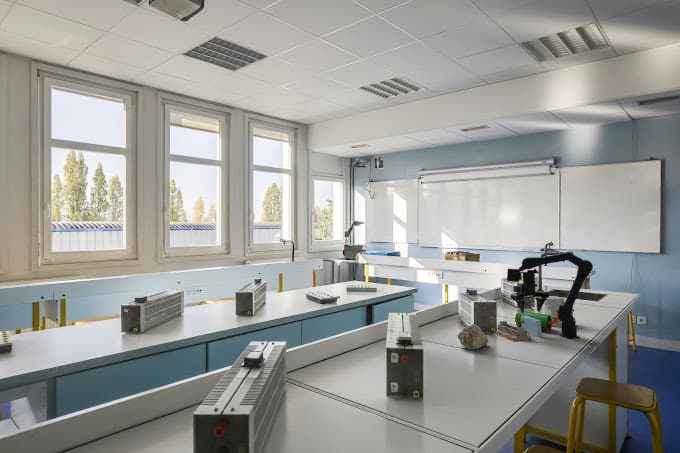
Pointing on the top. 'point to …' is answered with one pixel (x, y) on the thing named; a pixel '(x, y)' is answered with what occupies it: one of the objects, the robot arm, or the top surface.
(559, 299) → the circuit breaker
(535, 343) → the top surface
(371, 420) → the top surface
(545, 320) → the motor
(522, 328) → the cabinet base
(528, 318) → the cabinet door
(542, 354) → the top surface
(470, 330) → the lumpy boulder
